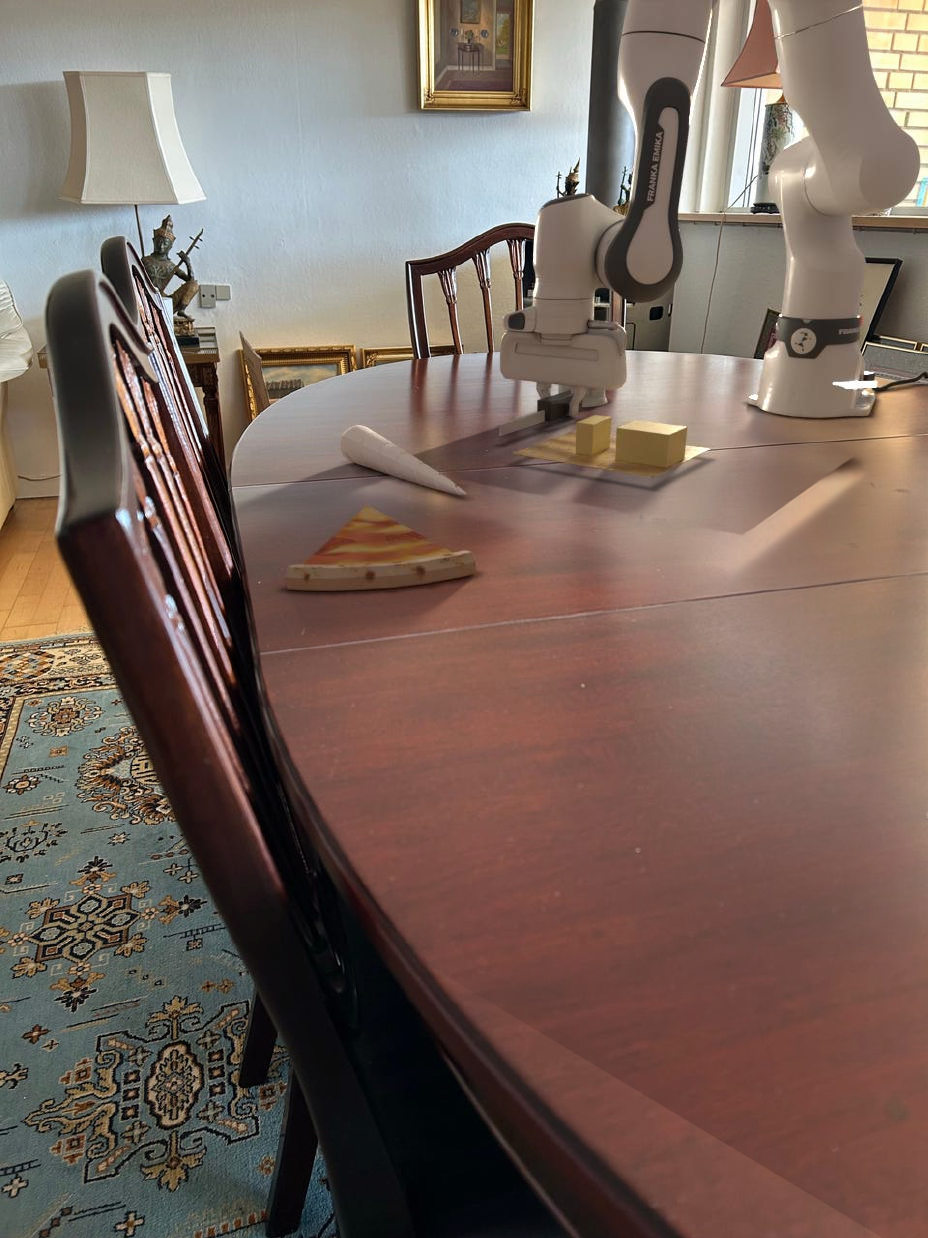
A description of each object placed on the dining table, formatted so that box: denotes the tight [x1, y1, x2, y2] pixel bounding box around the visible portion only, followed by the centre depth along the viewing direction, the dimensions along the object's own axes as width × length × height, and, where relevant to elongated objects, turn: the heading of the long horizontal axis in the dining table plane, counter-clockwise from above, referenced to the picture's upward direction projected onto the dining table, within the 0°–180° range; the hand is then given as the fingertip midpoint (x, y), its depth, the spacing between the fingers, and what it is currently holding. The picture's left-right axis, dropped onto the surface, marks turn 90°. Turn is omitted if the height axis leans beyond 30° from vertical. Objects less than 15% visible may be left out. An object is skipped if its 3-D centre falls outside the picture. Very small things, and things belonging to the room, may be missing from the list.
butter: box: [615, 419, 688, 468], centre depth 110 cm, size 5×7×4 cm
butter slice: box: [575, 414, 612, 456], centre depth 114 cm, size 5×2×4 cm, turn 145°
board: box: [511, 429, 710, 479], centre depth 115 cm, size 16×20×2 cm
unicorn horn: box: [339, 424, 467, 496], centre depth 109 cm, size 5×24×5 cm, turn 35°
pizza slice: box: [285, 504, 477, 592], centre depth 86 cm, size 16×22×2 cm
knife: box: [498, 390, 583, 437], centre depth 130 cm, size 20×2×4 cm, turn 142°
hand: (560, 414), depth 135 cm, fingers closed on knife, 2 cm apart
